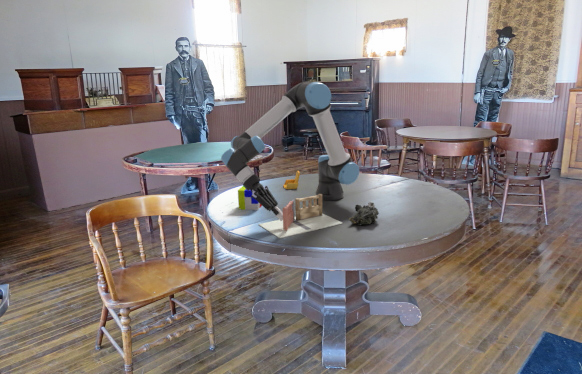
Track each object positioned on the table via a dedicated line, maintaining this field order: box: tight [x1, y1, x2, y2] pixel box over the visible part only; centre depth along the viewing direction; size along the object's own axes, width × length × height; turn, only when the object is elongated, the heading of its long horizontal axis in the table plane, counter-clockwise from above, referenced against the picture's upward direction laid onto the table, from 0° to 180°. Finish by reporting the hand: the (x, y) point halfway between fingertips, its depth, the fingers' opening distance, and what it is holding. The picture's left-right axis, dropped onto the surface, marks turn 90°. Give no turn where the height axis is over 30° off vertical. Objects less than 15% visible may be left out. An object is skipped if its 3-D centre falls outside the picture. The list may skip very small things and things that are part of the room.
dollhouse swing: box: [282, 170, 301, 190], centre depth 261 cm, size 10×10×9 cm
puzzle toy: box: [237, 185, 263, 211], centre depth 225 cm, size 10×10×10 cm
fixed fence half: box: [294, 194, 323, 220], centre depth 205 cm, size 14×2×10 cm, turn 120°
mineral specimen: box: [348, 201, 380, 226], centre depth 198 cm, size 15×13×10 cm
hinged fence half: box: [282, 199, 296, 230], centre depth 194 cm, size 14×2×10 cm, turn 165°
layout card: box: [258, 213, 344, 239], centre depth 198 cm, size 32×20×1 cm, turn 120°
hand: (283, 219), depth 193 cm, fingers closed
